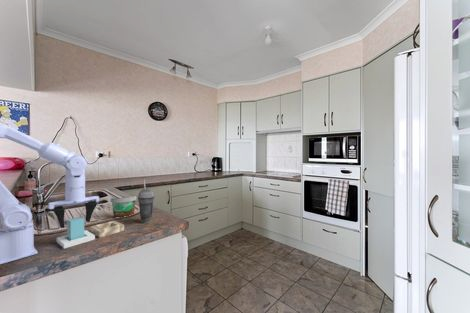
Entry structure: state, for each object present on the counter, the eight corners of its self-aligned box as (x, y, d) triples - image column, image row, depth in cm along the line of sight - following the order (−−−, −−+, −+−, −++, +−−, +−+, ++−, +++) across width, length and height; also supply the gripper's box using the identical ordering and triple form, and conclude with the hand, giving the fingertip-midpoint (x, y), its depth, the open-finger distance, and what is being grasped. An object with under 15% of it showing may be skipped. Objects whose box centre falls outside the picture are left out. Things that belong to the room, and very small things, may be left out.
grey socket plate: (64, 248, 67) (64, 244, 67) (56, 241, 72) (56, 237, 72) (94, 239, 74) (94, 235, 74) (86, 233, 79) (86, 230, 79)
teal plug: (70, 244, 70) (70, 221, 70) (67, 241, 73) (67, 219, 73) (84, 240, 74) (84, 218, 73) (80, 237, 76) (80, 216, 76)
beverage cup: (146, 225, 89) (145, 180, 89) (134, 223, 92) (133, 180, 92) (157, 220, 96) (157, 178, 96) (146, 218, 98) (146, 178, 98)
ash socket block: (99, 237, 75) (99, 231, 75) (90, 232, 81) (90, 226, 81) (124, 230, 83) (124, 224, 83) (114, 226, 88) (114, 220, 88)
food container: (106, 219, 97) (106, 199, 97) (111, 216, 103) (110, 196, 102) (134, 217, 100) (134, 197, 100) (137, 214, 106) (136, 195, 106)
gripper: (52, 191, 65) (52, 232, 65) (102, 186, 76) (102, 221, 77) (46, 189, 69) (46, 228, 69) (95, 184, 81) (95, 217, 81)
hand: (75, 224), depth 73 cm, fingers open, 7 cm apart
